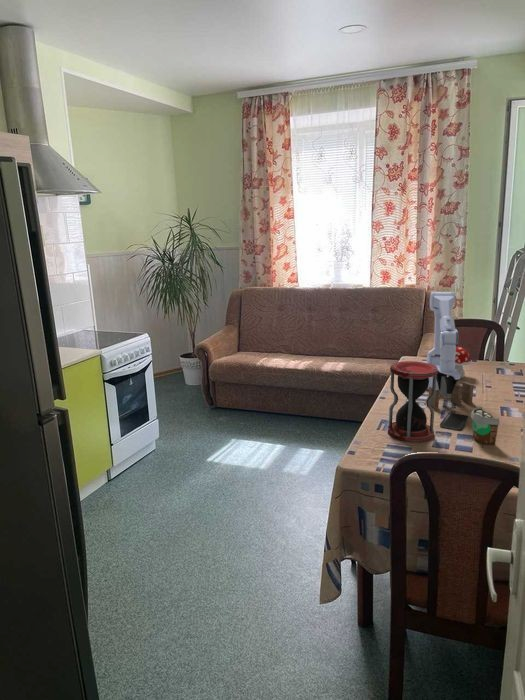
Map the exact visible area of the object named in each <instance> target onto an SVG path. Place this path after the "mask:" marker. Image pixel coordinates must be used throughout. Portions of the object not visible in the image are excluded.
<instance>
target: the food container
mask: <svg viewBox="0 0 525 700" xmlns="http://www.w3.org/2000/svg"><path fill="white" fill-rule="evenodd" d="M470 418H471V419H472V438H473V440H474V442H476V443H479V444H482V445H487V446H489V445H490V446H495V445H496V440H497V435H498V429H499V426H500V418H498V417H496V418H495V417H494V416H493V415H492V414H491V413H489V412H487V411H485V410H484V409H483V406H479V407H474V408H473V410H472V411H471V413H470Z"/></svg>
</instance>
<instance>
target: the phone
mask: <svg viewBox="0 0 525 700" xmlns="http://www.w3.org/2000/svg"><path fill="white" fill-rule="evenodd" d="M469 419H470V416H469V415H466V414H460V413H456V412H448V413H447V414H446V415H445V417H444V418H443V420H442V421H440V424H439V427H440V428H442V429H443V428H444V429H448V430H452V429H453V430H454V431H459V432H461V431H462V430H463V429H464V427H465V425H466V424H467V422H468V420H469Z"/></svg>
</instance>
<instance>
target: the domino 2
mask: <svg viewBox="0 0 525 700" xmlns="http://www.w3.org/2000/svg"><path fill="white" fill-rule="evenodd" d="M445 377H446V376H441V384H440V392H439V396H442V397H444V398H446V399H451V394H447V387H446V381H445Z"/></svg>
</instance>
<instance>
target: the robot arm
mask: <svg viewBox="0 0 525 700" xmlns="http://www.w3.org/2000/svg"><path fill="white" fill-rule="evenodd" d="M455 302H456V294H455V292H454V291H431V292H430V295H429V310H430V311H432V312H433V314H434V337H433V339H434V340H433V348H432V349H431V350H429V351H428V352H427V355H426V363H429V364H432V365H434V366H436V367H437V368H438V374H437V377H436V388H437V389H439V393H440V384H441V376H446V377H445V381H446V387H447V394H452V392H453V389H454V387H455V385H456V384H458V381H459V380H461V378H460V374H458V373H457V372H456V369H454V368H455V354H456V347H457V346H458V344H459V331H458V330H457V328H456V323H455V319H454V318H453V316H452V315H451V311H452V309H453V307H454V306H455ZM432 385H433V377H429V385H428V388H427V391H429V386H432Z"/></svg>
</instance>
